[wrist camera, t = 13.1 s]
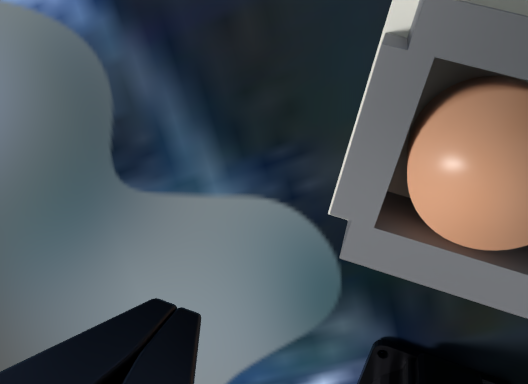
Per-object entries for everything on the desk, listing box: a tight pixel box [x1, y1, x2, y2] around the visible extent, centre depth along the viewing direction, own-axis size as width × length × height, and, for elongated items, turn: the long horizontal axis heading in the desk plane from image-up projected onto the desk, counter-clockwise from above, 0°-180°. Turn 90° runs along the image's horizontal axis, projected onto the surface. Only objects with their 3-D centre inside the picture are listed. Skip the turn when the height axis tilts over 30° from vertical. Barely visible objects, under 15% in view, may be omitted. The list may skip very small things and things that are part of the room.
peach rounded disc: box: [407, 76, 528, 251], centre depth 15 cm, size 5×5×2 cm
